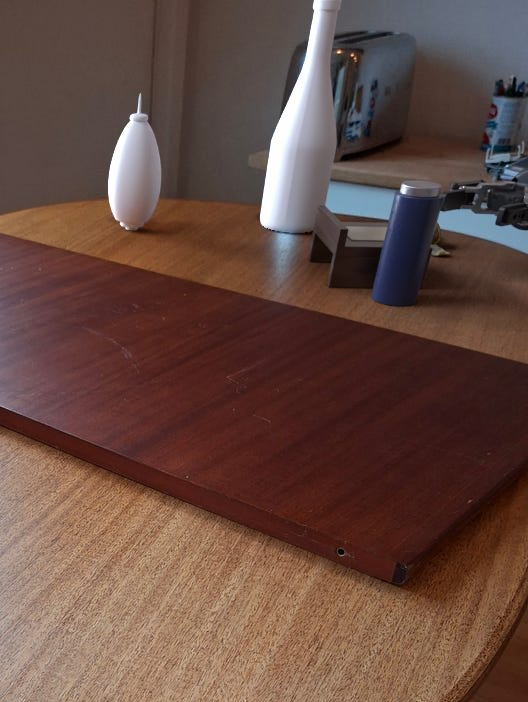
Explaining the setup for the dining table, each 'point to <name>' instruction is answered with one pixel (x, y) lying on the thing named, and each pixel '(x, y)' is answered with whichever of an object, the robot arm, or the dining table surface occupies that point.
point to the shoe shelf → (349, 249)
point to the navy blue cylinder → (407, 243)
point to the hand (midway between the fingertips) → (470, 209)
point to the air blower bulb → (135, 173)
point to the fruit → (437, 242)
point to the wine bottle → (304, 136)
